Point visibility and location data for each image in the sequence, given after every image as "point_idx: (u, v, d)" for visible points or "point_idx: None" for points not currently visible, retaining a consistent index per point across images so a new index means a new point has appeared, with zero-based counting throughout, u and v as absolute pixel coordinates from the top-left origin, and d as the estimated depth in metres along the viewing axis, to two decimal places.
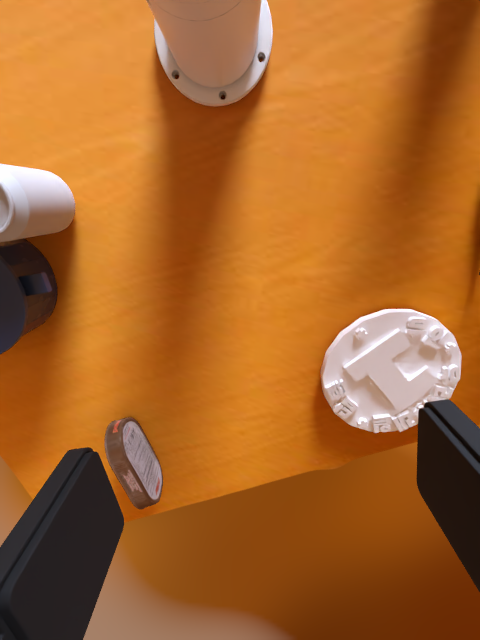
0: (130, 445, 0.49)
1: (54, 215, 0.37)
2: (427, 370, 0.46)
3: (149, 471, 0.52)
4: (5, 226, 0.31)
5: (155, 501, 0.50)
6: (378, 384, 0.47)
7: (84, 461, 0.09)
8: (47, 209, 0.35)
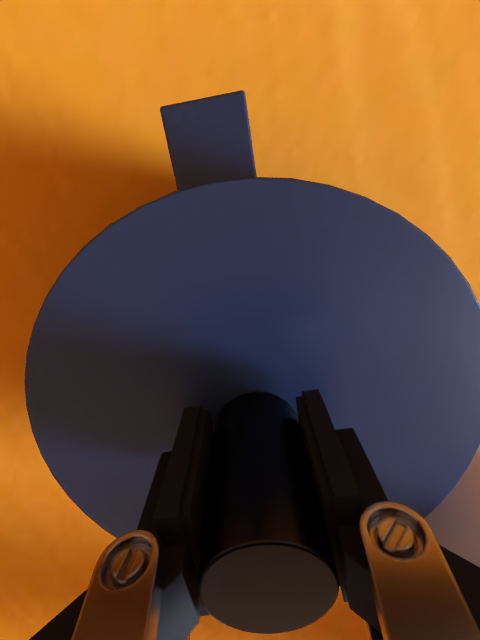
0: None
1: None
2: None
3: None
4: None
5: None
6: None
7: (202, 416, 0.10)
8: None
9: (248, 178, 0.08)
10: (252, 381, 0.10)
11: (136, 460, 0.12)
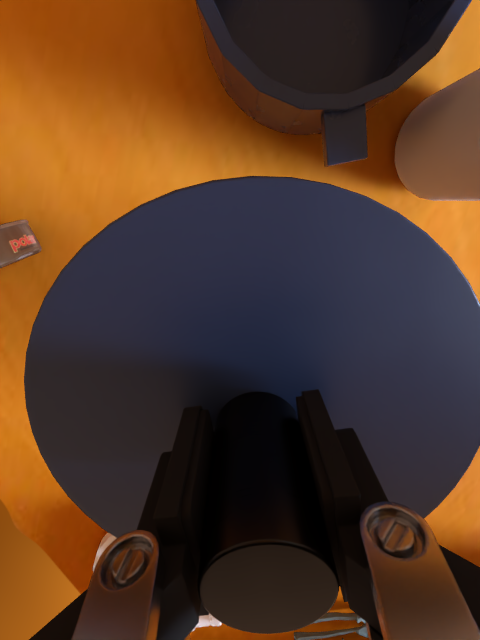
0: None
1: (455, 196, 0.21)
2: None
3: None
4: None
5: None
6: None
7: (202, 416, 0.10)
8: (479, 198, 0.20)
9: (248, 177, 0.08)
10: (252, 381, 0.10)
11: (136, 460, 0.12)
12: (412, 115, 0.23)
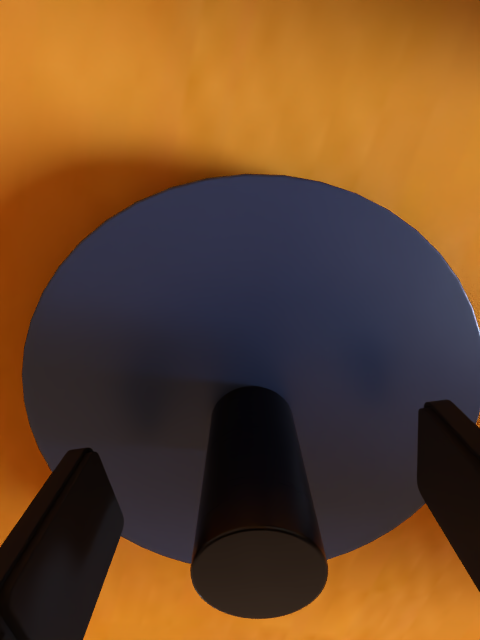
0: None
1: None
2: None
3: None
4: None
5: None
6: None
7: (84, 461, 0.09)
8: None
9: (241, 175, 0.09)
10: (246, 375, 0.11)
11: (132, 454, 0.12)
12: None
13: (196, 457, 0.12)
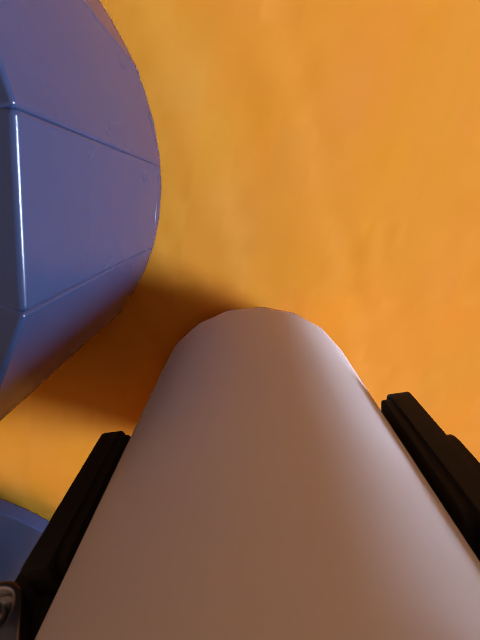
0: None
1: None
2: None
3: None
4: None
5: None
6: None
7: (119, 443, 0.09)
8: None
9: None
10: None
11: None
12: (165, 364, 0.11)
13: None
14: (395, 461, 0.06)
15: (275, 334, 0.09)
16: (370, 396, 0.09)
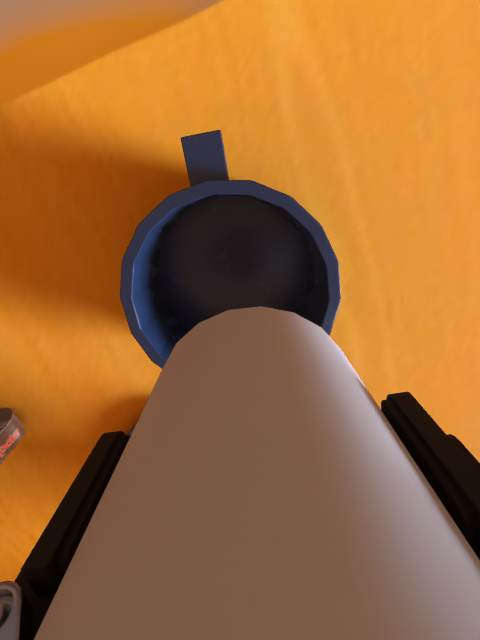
0: None
1: None
2: None
3: None
4: None
5: None
6: None
7: (119, 443, 0.09)
8: None
9: None
10: None
11: None
12: None
13: None
14: (396, 460, 0.06)
15: (275, 333, 0.09)
16: (370, 396, 0.09)
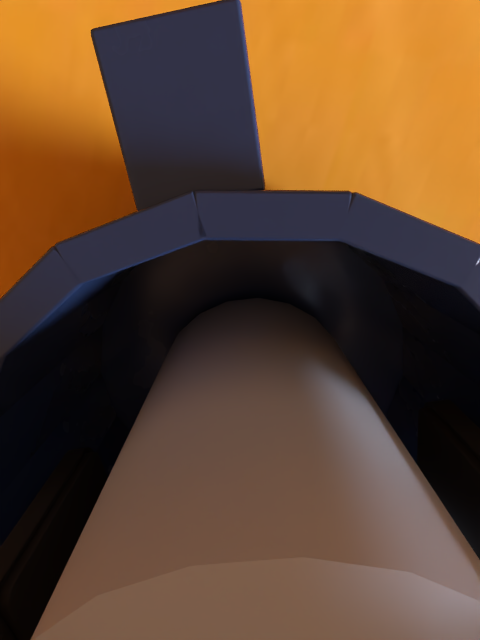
0: None
1: None
2: None
3: None
4: None
5: None
6: None
7: (84, 461, 0.09)
8: None
9: None
10: None
11: None
12: None
13: None
14: (375, 427, 0.06)
15: (271, 321, 0.10)
16: (359, 378, 0.10)
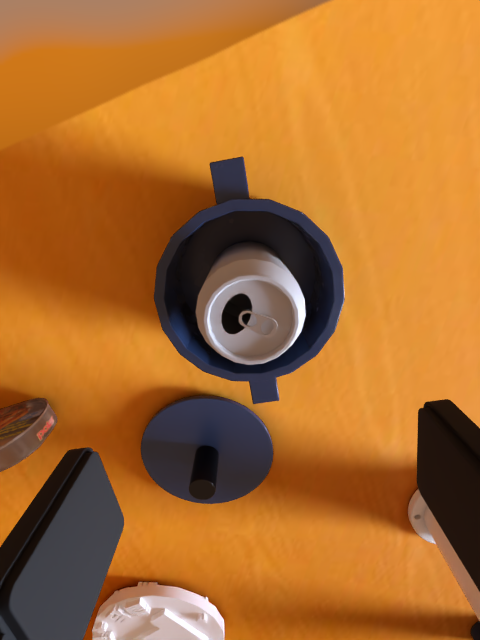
0: None
1: None
2: None
3: None
4: (219, 349, 0.21)
5: None
6: (149, 636, 0.48)
7: (84, 461, 0.09)
8: None
9: (201, 398, 0.36)
10: (204, 442, 0.38)
11: (171, 464, 0.39)
12: None
13: (190, 465, 0.39)
14: (279, 261, 0.24)
15: (254, 245, 0.28)
16: None
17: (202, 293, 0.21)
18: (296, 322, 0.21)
